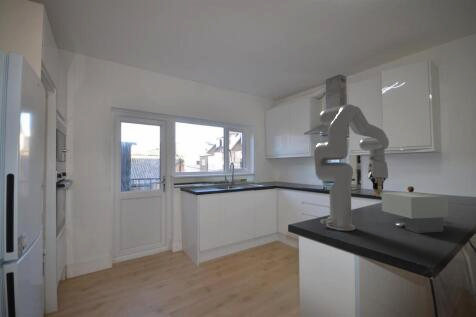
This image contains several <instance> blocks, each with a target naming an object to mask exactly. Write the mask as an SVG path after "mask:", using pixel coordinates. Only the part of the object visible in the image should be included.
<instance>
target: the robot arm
mask: <svg viewBox="0 0 476 317" xmlns="http://www.w3.org/2000/svg"><path fill="white" fill-rule="evenodd" d="M319 120H320V123H321V124H322V125H324V126H328V128H327V141H320V142H318V143H317V144H316V145H315V147H314V149H313V150H314V151H313V157H314V158H313V159H314V167H315V176H316V178H317V179H318V180H319V181H324V182H333V183H332V184H331V186H330V188H329V216H327V218H326V219H324V218H323V219H320V223H321V224H326V227H328V228H329V229H332V230H336V231H344V232H350V231H354V230H356V226H355V224H352V182H353V176H354V169H353V167H352V165H351V164H350V163H347V162H343V161H342V162H339V160H344V159H346V158H347V157H348V155H349V148H348V134H347V133H348V127H349V128H351V130H352V132H353V133H354V134H355V135H358V136H363V137H365V138H362V139H361V140H360V141H359V147H360V149H361V150H362V151H369V157H368V159H369V162H368V169H367V174H368V175H367V179H368V180H369V181H371V183H372V190H374V189H376V190H378V183H377V178H382V190H384V183H385V181H386V180H387V179H388V178H389V170H388V168H389V167H388V164H387V161H386V156H385V155H386V154H385V150H386V149H388V148H389V146H390V142H389V138H388V136H387V134H386V132H385V131H384V130H383V129H382V128H379V127H377V126H375V125H373V124H371V123H369V121H368V120H367V118H366V116H365V115H364V112H363V111H362V109H361V108H360V107H358V106H356V105H353V104H350V103H349V104H343V105H338V106H334V107H331V108H326V109H323V110H322V111H321V112H320V113H319ZM337 160H338V161H337ZM329 161H334V162H329ZM335 161H337V162H335ZM374 178H375V180H374Z"/></svg>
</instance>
